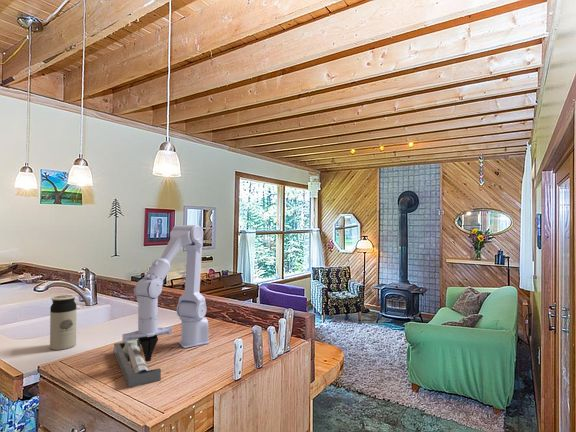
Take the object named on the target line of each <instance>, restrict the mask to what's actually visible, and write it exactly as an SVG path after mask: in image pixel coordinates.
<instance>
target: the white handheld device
mask: <svg viewBox="0 0 576 432" xmlns="http://www.w3.org/2000/svg"><path fill="white" fill-rule="evenodd" d="M137 340H138V339H135V340H130V341H127V342H125V347H123V349H122V350H123V352H124V354H125V356H126V358H127V360H128V361H129V364H130V366H131V368H132V370H133V372H134V374H135V373H140V372H145V371H149V365H148V364H146V361H145V358H144V357H143V355H142V354H141V347H140V348H139V346H137Z"/></svg>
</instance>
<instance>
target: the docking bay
mask: <svg viewBox="0 0 576 432" xmlns="http://www.w3.org/2000/svg"><path fill="white" fill-rule="evenodd" d="M136 340H137V346H139V348H140V349H141V344H140V342H139V340H138V339H136ZM123 347H125V342H123V341H122V342H117V343H113V354H114V356H115V359H116V361H117V363H118V366H119V368H120V370H121V373H122V375H123V378H124V379H125V380H124V381H125V382H126V385H127V388H128V389H129V388H134V387H138V386H143V385H147V384H150V383H154V382H158V381H161V380H162V377H161V376H162V373H161V372H162V370H161V367H159V368H154V369H150V370H149V369H148V371H145V372H140V373H135V374H134V372H133V370H132V367H131V363H130V361H129V360H127V358H126V356H125V354H124V352H123V350H122V349H123Z"/></svg>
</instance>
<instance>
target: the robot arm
mask: <svg viewBox="0 0 576 432" xmlns="http://www.w3.org/2000/svg"><path fill="white" fill-rule="evenodd" d="M169 238H170V239H169V241H168V243H167V244H166V247H165V249H164V250H163V252H162V253H161V257H160V258H157V259H155V260H154V261H153V262H152V263H151V266H150V267H149V269H148V270H147V272H146V273H145V275H144V277H143V278H141V279H139V280H138V281H137V282H136V283H135V286H134V288H133V292H134V293H133V294H134V295H135V297H136V302H137V306H138V307H137V313H138V314H137V316H138V317H137V327H138V328H137V330H136V331H135V330H134V331H132V332H127V333H123V334H121V335H122V339H121V341H122V342H127V341H130V340H135V339H136V340H139V342H140V347H141V349H142V351H143V355H144V361H145V363H146V362H151V360H152V355H153V352H154V350H155V347H156V345H157V343H158V341H159V336H164V335H173V328H172V327H171V326H167V327H164V326H163V327H158V325H159V323H158V319H159V317H158V316H159V315H158V313H159V312H158V304H159V303H158V301H159V298H158V297H159V296H160V295H161V293H162V291H163V286H164V280H165V279H166V277H167V275H168V274H169V272H170V270H171V262H172V261H173V259H174V258H175V256H176V255H177V253H178V252H179V250H181V248H182V247H184V249H186V265H185V279H184V280H185V282H184V292H183V294H182V295H181V296H179V298H178V303H177V306H176V315H177V317H179V320H180V321H181V323H180V324H181V325H180V326H181V327H180V328H181V332H180V335H181V336H180V337H181V339H180V340H177V343H178V344H179V345H180V346H181V347H182V348H183V349H186V348H190V347H191V348H192V347H197V346H202V345H207V344H210V341H209V330H210V329H209V320H208V319H207V317H206V314H207V303H206V298H205V296H203V294H201V292H200V288H201V272H202V255H203V254H202V253H203V246H204V230H203V229H202V226H200V225H199V224H186V225H185V224H176V225H174V226H173V227H172V230H171V231H170V232H169Z"/></svg>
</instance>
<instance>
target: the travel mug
mask: <svg viewBox="0 0 576 432" xmlns="http://www.w3.org/2000/svg"><path fill="white" fill-rule="evenodd" d="M76 297H77V296H76V295H74V294H62V295H60V294H59V295H56V296H52V297H51V298H50V299H51V301H52V303H51V305H50V308H49V309H50V315H49V316H50V318H49V323H50V324H49V328H50V329H49V348H50V350H52V351H53V350H54V351H62V350H67V349H70V348H71V349H72V348H73V347H75V346H76V345H77V303H76V301H75V299H76Z"/></svg>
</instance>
